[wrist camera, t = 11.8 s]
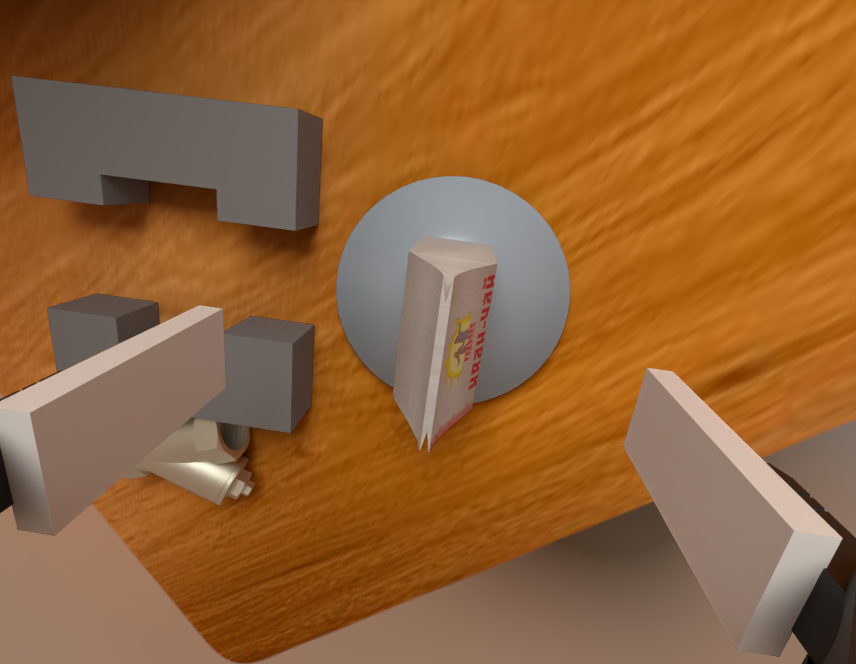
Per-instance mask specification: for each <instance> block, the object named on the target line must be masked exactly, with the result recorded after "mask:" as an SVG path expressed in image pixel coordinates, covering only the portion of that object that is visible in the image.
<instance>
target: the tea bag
mask: <svg viewBox="0 0 856 664" xmlns="http://www.w3.org/2000/svg"><path fill="white" fill-rule="evenodd" d="M496 269H497V260H496V256H495V253H494V249H493V245H489V244H481V243H474V242H467V241H460V240H452V239H445V238H438V237H431V236H423V237H422V238H421V239H420V240H419V241H418V242H417V243H416V244H415V245H414V246H413V247H412V248H411V249H410V250H409V254H408V263H407V272H406V281H405V290H404V299H403V308H402V317H401V326H400V335H399V344H398V353H397V362H396V371H395V380H394V389H393V398H394V400H395V402H396V403H397V405H398V407H399V408H400V410H401V411H402V413H403V415H404V416H405V418H406V420H407V421H408V423H409V425H410V426H411V428H412V431H413V433H414V435H415V437H416V439H417V442H418V448H419V452H420V449H421V447H422V444H423V441H424V439H425V436H426V433H427V438H428V451H429V452H430V451H431V449H432V447H433V445H434V444H435V443H436V441H437V440H438V439H439V438H440V437H441V436H442V435H443V434H444V433H445V432H446V431H447V430H448V429H449V428H450V427H452V426H453V425H454V424H455V423H456V422H458V421H459V420H460V419H461V418H463V417H464V416H465V415H466V414H467V413H469V412H470V411H471V410H472V407H473V401H474V395H475V390H476V384H477V378H478V373H479V367H480V361H481V355H482V350H483V344H484V338H485V332H486V327H487V321H488V315H489V309H490V304H491V298H492V292H493V286H494V281H495V275H496Z"/></svg>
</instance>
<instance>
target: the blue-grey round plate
mask: <svg viewBox="0 0 856 664" xmlns="http://www.w3.org/2000/svg"><path fill="white" fill-rule="evenodd" d="M423 236H431V237H438V238H445V239H452V240H460V241H467V242H474V243H481V244H489V245H493V249H494V253H495V256H496V260H497V269H496V275H495V281H494V286H493V292H492V298H491V304H490V309H489V315H488V321H487V327H486V332H485V338H484V344H483V350H482V355H481V361H480V367H479V373H478V378H477V384H476V390H475V395H474V401H473V403H476V402H481V401H485V400H488V399H492V398H495V397H497V396H499V395H502V394H504V393H506V392H508V391H510V390H512V389H514V388H515V387H517V386H519V385H520V384H522V383H523V382H524V381H526V380H527V379H528V378H530V377H531V376H532V375H533V374H534V373H535V372H536V371H537V370H538V369H539V368H540V367H541V366H542V365H543V363H544V362H545V361H546V360H547V359H548V357H549V356H550V355H551V353H552V351H553V350H554V348H555V346H556V345H557V343H558V341H559V339H560V336H561V334H562V332H563V329H564V326H565V323H566V319H567V316H568V310H569V303H570V280H569V272H568V267H567V263H566V260H565V256H564V253H563V251H562V248H561V246H560V244H559V241H558V239H557V238H556V236H555V234H554V233H553V231H552V229H551V228H550V226H549V225H548V224H547V222H546V221H545V220H544V219H543V217H542V216H541V215H540V214H539V213H538V212H537V211H536V210H535V209H534V208H533V207H532V206H531V205H530V204H528V203H527V202H526V201H525V200H523V199H522V198H520V197H519V196H517V195H516V194H514V193H513V192H511V191H509V190H507V189H505V188H503V187H501V186H499V185H496V184H493V183H490V182H487V181H484V180H480V179H475V178H470V177H457V176H446V177H434V178H430V179H425V180H421V181H417V182H414V183H412V184H409V185H407V186H404V187H402V188H400V189H398V190H396V191H394V192H393V193H391V194H389V195H387V196H386V197H385V198H383V199H382V200H381V201H379V202H378V203H377V204H375V205H374V206H373V207H372V208H371V209H370V210H369V211H368V212H367V213H366V214H365V215H364V217H363V218H362V219H361V220H360V222H359V223H358V224H357V226H356V227H355V229H354V230H353V232H352V234H351V235H350V237H349V239H348V241H347V243H346V246H345V248H344V250H343V253H342V256H341V260H340V264H339V267H338V274H337V282H336V296H337V305H338V312H339V316H340V319H341V323H342V327H343V329H344V331H345V334H346V336H347V339H348V341H349V342H350V344H351V346H352V347H353V349H354V351H355V353H356V354H357V355H358V356H359V358H360V359H361V360H362V362H363V363H364V364H365V365H366V366H367V367H368V368H369V369H370V370H371V371H372V372H373V373H374V374H375V375H376V376H377V377H378V378H380V379H381V380H382V381H383V382H385V383H386V384H388V385H389V386H391V387H393V388H394V380H395V371H396V362H397V353H398V344H399V335H400V326H401V317H402V308H403V299H404V290H405V281H406V272H407V263H408V254H409V250H410V249H411V248H412V247H413V246H414V245H415V244H416V243H417V242H418V241H419V240H420V239H421V238H422V237H423Z"/></svg>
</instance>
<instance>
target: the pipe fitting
mask: <svg viewBox="0 0 856 664" xmlns="http://www.w3.org/2000/svg"><path fill="white" fill-rule="evenodd" d="M249 442H250V427H248V426H241V425H235V424H229V423H222V422H216V421H210V420H204V419H197V418H190V419H189V420H188V421H186V422H185V423H184V424H183V425H182V426H181V427H180V428H178V429H177V430H176V431H175V432H174V433H173V434H171V435H170V436H169V437H168V438H167V439H166V440H165V441H163V442H162V443H161V444H160V445H159V446H158V447H156V448H155V449H154V450H153V451H152V452H151V453H150V454H148V455H147V456H146V457H145V458H144V459H143V460H141V461H140V462H139V463H138V464H137V465H136V466H135V467H133V468H132V469H131V470H130V471H129V472H128V473H126V474H125V475H124V476H123V477H124V478H127V479H135V478H140V477H146V476H148V475H149V474H150V473H153V474H156V475H158V476H160V477H162V478H164V479H166V480H168V481H170V482H172V483H174V484H176V485H178V486H180V487H182V488H184V489H186V490H188V491H190V492H192V493H195V494H197V495H199V496H201V497H203V498H205V499H207V500H209V501H211V502H213V503H215V504H217V505H221V504H222V503H223V502H224V501H225V499H226V498H227V496H229V497H231V498H233V499H235V500H236V499H238V498H239V496H240V495H241V494H243V495H245V496H248V495H249V494H250V492H251V490H252V489H253V487H254V485H255V483H253V482H251V481H249V480H250V478H251V476H252V473H251V472H249V471H247V470H245V469H244V468H245V466H246V464H247V462H248V460H249V459H248V458H246V457H244V456H242V454H243V453H244V451H245V450H246V448H247V447H248V445H249Z"/></svg>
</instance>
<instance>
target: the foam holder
mask: <svg viewBox="0 0 856 664" xmlns="http://www.w3.org/2000/svg"><path fill="white" fill-rule="evenodd" d="M11 79H12V85H13V92H14V98H15V104H16V111H17V117H18V124H19V130H20V137H21V143H22V150H23V156H24V162H25V169H26V175H27V182H28V188H29V195H30V196H36V197H43V198H51V199H58V200H66V201H74V202H81V203H89V204H96V205H121V204H138V203H150V193H149V181H156V182H164V183H171V184H179V185H187V186H195V187H203V188H210V189H217V220H218V221H225V222H232V223H240V224H248V225H255V226H263V227H270V228H278V229H285V230H293V231H297V230H300V229H304V228H308V227H312V226H316V225H318V222H319V196H320V171H321V145H322V120H323V119H321V118H319V117H316V116H314V115H311V114H309V113H307V112H304V111H302V110H300V109H295V108H286V107H278V106H269V105H260V104H252V103H243V102H235V101H226V100H217V99H209V98H200V97H192V96H183V95H175V94H166V93H157V92H149V91H140V90H132V89H123V88H114V87H106V86H97V85H89V84H80V83H72V82H63V81H54V80H46V79H37V78H29V77H20V76H11ZM47 311H48V317H49V323H50V330H51V336H52V343H53V349H54V356H55V362H56V369H57V372H58V371H61V370H64V369H68V368H70V367H72V366H74V365H76V364H78V363H80V362H82V361H85V360H87V359H89V358H91V357H93V356H95V355H97V354H99V353H101V352H103V351H105V350H107V349H109V348H112V347H114V346H116V345H118V344H120V343H122V342H124V341H126V340H128V339H130V338H132V337H134V336H137V335H139V334H141V333H143V332H145V331H147V330H149V329H151V328H153V327H155V326H157V325H159V313H158V302H152V301H145V300H138V299H131V298H124V297H117V296H110V295H103V294H93V295H90V296H87V297H83V298H80V299H76V300H73V301H69V302H66V303H62V304H59V305H55V306H52V307H49V308H47ZM313 349H314V325H312V324H305V323H298V322H291V321H284V320H277V319H270V318H263V317H256V316H250V317H248V318H246V319H245V320H243V321H241V322H240V323H238V324H236V325H234V326H233V327H231V328H229V329H228V330H226V331H224V352H225V379H226V388H225V389H223V390H222V391H221V392H220V393H219V394H218V395H216V396H215V397H214V398H213V399H212V400H211V401H210V402H208V403H207V404H206V405H205V406H204V407H203V408H201V409H200V410H199V411H198V412H197V413H196V414H195V415H193V416H192V417H191V418H197V419H204V420H210V421H216V422H222V423H229V424H235V425H241V426H248V427H254V428H260V429H267V430H273V431H279V432H286V433H291V432H292V431H293V429H294V428H295V427H296V425H297V424H298V423H299V421H300V420H301V419H302V417H303V416H304V414H305V413H306V412H307V410H308V409H309V408H310V406H311V400H312V375H313Z"/></svg>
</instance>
